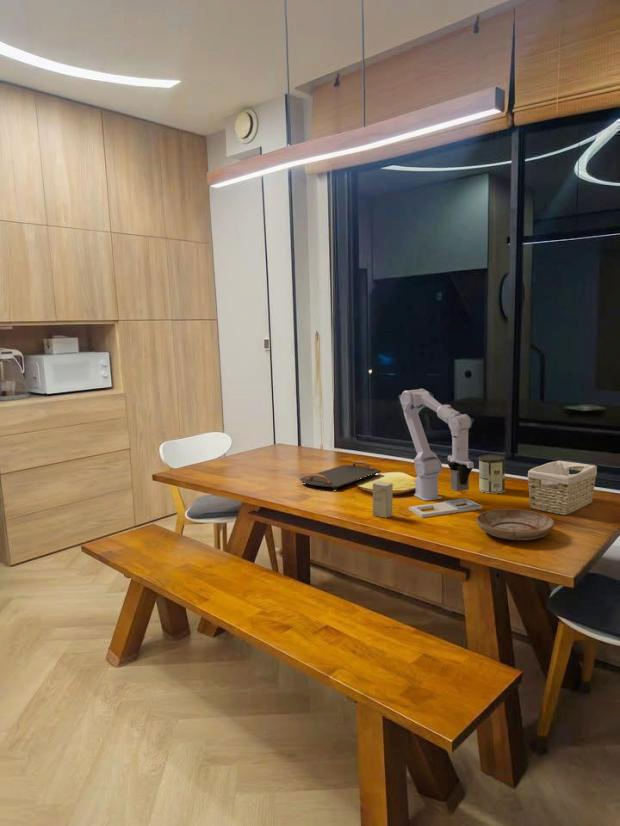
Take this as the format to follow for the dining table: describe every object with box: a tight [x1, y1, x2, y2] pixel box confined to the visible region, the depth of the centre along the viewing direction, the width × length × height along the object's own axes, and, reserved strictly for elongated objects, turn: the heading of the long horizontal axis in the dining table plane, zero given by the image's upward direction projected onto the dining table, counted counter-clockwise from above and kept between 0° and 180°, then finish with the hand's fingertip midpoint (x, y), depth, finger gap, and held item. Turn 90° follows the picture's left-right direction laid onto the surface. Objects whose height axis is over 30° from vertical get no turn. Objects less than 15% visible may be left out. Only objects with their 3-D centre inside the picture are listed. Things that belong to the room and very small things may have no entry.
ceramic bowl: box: [475, 508, 555, 541], centre depth 182 cm, size 23×24×5 cm
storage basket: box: [527, 460, 598, 516], centre depth 207 cm, size 24×16×15 cm
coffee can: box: [478, 454, 506, 495], centre depth 230 cm, size 10×10×14 cm
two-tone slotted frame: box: [408, 497, 483, 519], centre depth 209 cm, size 10×25×2 cm, turn 107°
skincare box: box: [372, 480, 394, 519], centre depth 205 cm, size 6×4×12 cm
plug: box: [450, 469, 470, 492], centre depth 210 cm, size 4×5×7 cm
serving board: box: [299, 460, 382, 491], centre depth 258 cm, size 39×23×6 cm, turn 138°
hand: (460, 482), depth 210 cm, fingers closed on plug, 4 cm apart
